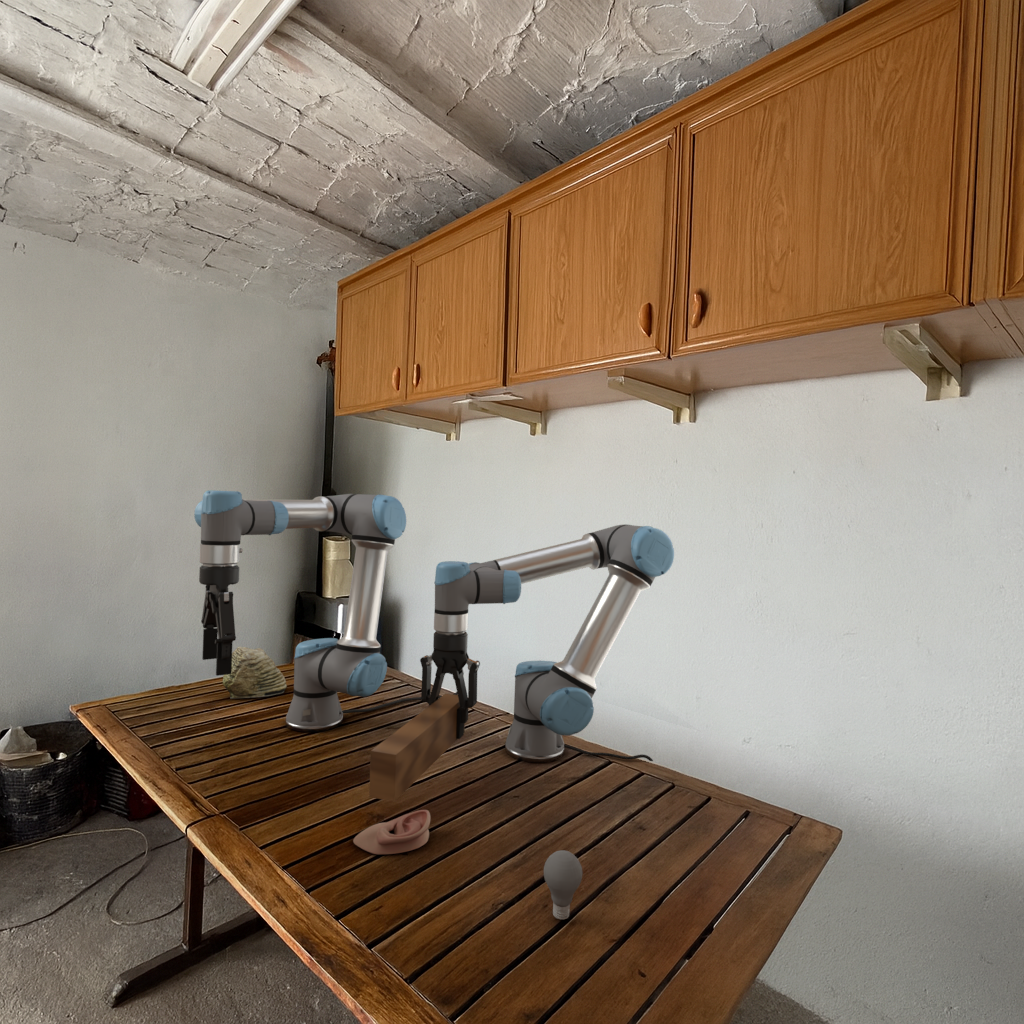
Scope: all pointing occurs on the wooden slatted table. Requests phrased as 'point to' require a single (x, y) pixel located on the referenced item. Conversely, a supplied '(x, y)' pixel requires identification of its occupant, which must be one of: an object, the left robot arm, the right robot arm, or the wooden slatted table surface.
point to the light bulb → (562, 880)
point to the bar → (413, 749)
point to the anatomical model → (396, 834)
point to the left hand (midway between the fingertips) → (216, 666)
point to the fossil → (253, 675)
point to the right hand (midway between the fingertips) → (448, 734)
